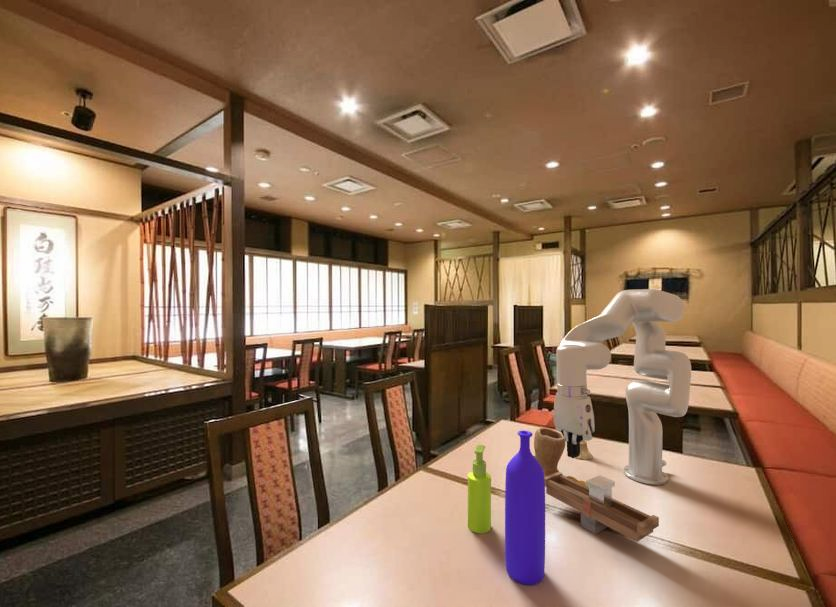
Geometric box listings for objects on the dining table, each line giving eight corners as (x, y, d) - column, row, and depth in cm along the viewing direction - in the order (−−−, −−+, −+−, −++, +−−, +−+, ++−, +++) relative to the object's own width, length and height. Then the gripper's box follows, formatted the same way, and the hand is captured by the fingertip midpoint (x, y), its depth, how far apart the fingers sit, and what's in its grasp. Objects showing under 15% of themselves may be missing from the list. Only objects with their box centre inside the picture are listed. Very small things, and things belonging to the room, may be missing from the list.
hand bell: (564, 451, 145) (564, 410, 145) (584, 450, 146) (584, 409, 146) (575, 460, 137) (575, 416, 137) (597, 459, 138) (597, 416, 138)
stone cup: (572, 483, 119) (572, 436, 119) (536, 485, 118) (536, 438, 118) (550, 463, 135) (550, 421, 135) (518, 464, 133) (518, 422, 133)
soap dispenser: (492, 520, 99) (493, 444, 99) (489, 535, 93) (489, 454, 93) (471, 515, 101) (471, 442, 101) (465, 530, 95) (465, 451, 95)
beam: (559, 498, 110) (559, 471, 110) (659, 551, 87) (659, 517, 87) (542, 505, 106) (542, 477, 106) (642, 563, 83) (642, 527, 83)
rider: (599, 498, 99) (600, 475, 99) (614, 505, 95) (614, 481, 95) (585, 505, 95) (586, 480, 95) (600, 512, 92) (600, 487, 92)
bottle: (499, 560, 84) (500, 426, 84) (535, 557, 85) (536, 425, 85) (512, 588, 76) (512, 440, 76) (551, 585, 76) (552, 438, 76)
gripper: (605, 393, 98) (607, 462, 99) (557, 382, 111) (559, 444, 111) (588, 398, 94) (590, 470, 95) (540, 387, 107) (542, 450, 107)
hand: (573, 456), depth 103 cm, fingers closed
